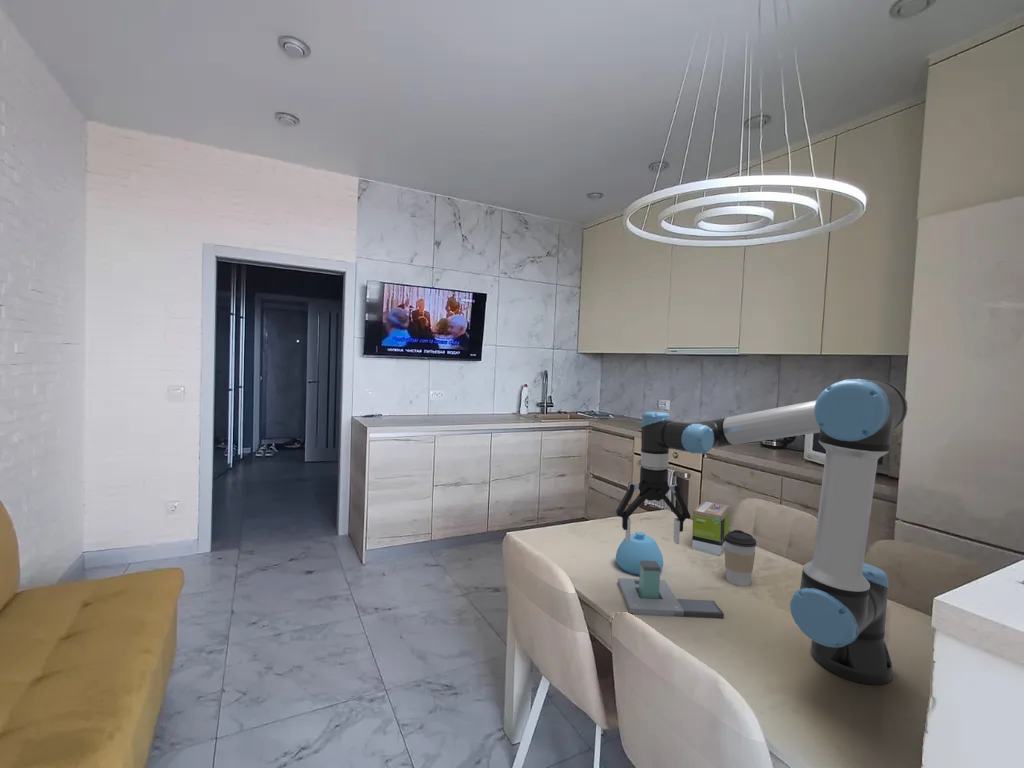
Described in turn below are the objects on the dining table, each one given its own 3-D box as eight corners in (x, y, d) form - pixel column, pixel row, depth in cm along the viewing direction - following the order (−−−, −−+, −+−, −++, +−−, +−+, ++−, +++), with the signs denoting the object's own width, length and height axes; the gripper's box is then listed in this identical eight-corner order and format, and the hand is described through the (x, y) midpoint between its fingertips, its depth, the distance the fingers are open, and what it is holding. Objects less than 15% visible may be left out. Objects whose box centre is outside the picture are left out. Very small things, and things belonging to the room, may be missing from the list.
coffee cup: (758, 589, 144) (760, 540, 143) (725, 585, 146) (728, 537, 145) (749, 576, 153) (752, 530, 152) (719, 573, 155) (721, 527, 154)
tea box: (701, 537, 186) (703, 500, 186) (729, 544, 180) (731, 505, 180) (690, 549, 174) (692, 509, 173) (720, 556, 168) (722, 515, 168)
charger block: (658, 602, 134) (660, 567, 134) (642, 602, 134) (643, 567, 134) (654, 594, 139) (656, 561, 138) (638, 594, 139) (640, 560, 138)
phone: (723, 618, 127) (723, 613, 127) (674, 615, 127) (674, 611, 127) (713, 604, 134) (713, 600, 134) (666, 602, 134) (666, 598, 134)
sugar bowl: (645, 582, 147) (647, 545, 146) (606, 565, 158) (607, 531, 158) (671, 569, 157) (673, 534, 156) (632, 554, 168) (634, 521, 167)
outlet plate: (683, 616, 127) (683, 610, 127) (630, 613, 128) (630, 608, 128) (664, 584, 145) (664, 579, 145) (617, 582, 146) (618, 577, 146)
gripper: (694, 465, 138) (692, 538, 139) (607, 463, 139) (605, 535, 140) (704, 471, 131) (701, 548, 131) (611, 468, 131) (609, 545, 132)
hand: (651, 541), depth 135 cm, fingers open, 13 cm apart
